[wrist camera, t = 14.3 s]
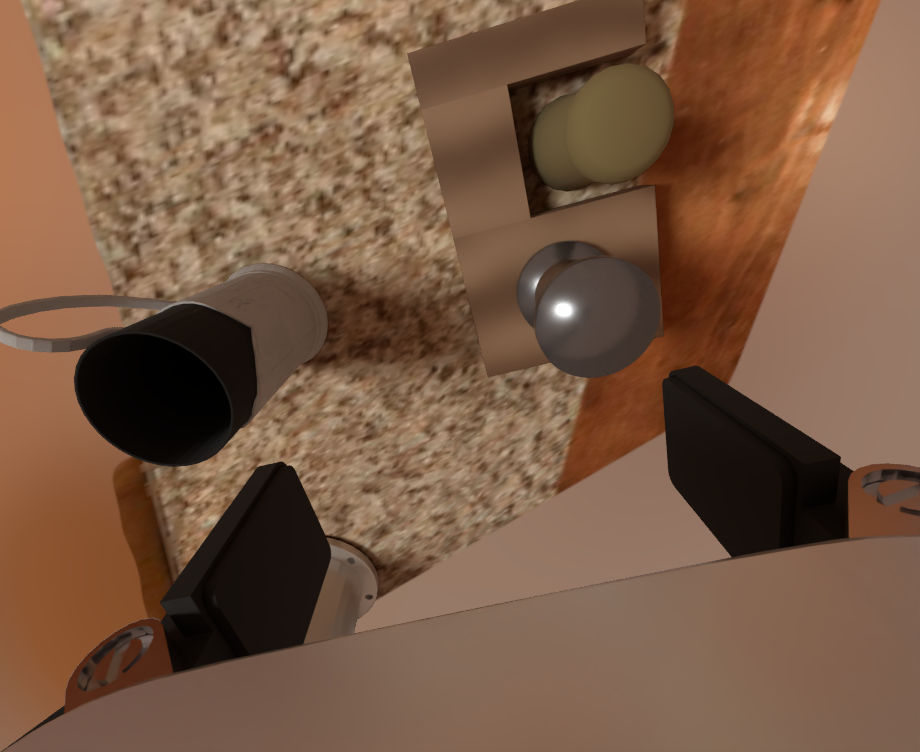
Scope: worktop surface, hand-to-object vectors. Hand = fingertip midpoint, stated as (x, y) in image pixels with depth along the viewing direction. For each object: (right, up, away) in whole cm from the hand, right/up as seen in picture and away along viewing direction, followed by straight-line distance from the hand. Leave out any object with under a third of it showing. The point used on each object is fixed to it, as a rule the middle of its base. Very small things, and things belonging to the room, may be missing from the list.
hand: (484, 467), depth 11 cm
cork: (+7, +19, +19) cm, 28 cm away
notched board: (+6, +15, +21) cm, 26 cm away
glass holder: (-18, +8, +24) cm, 31 cm away
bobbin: (+7, +9, +21) cm, 24 cm away
